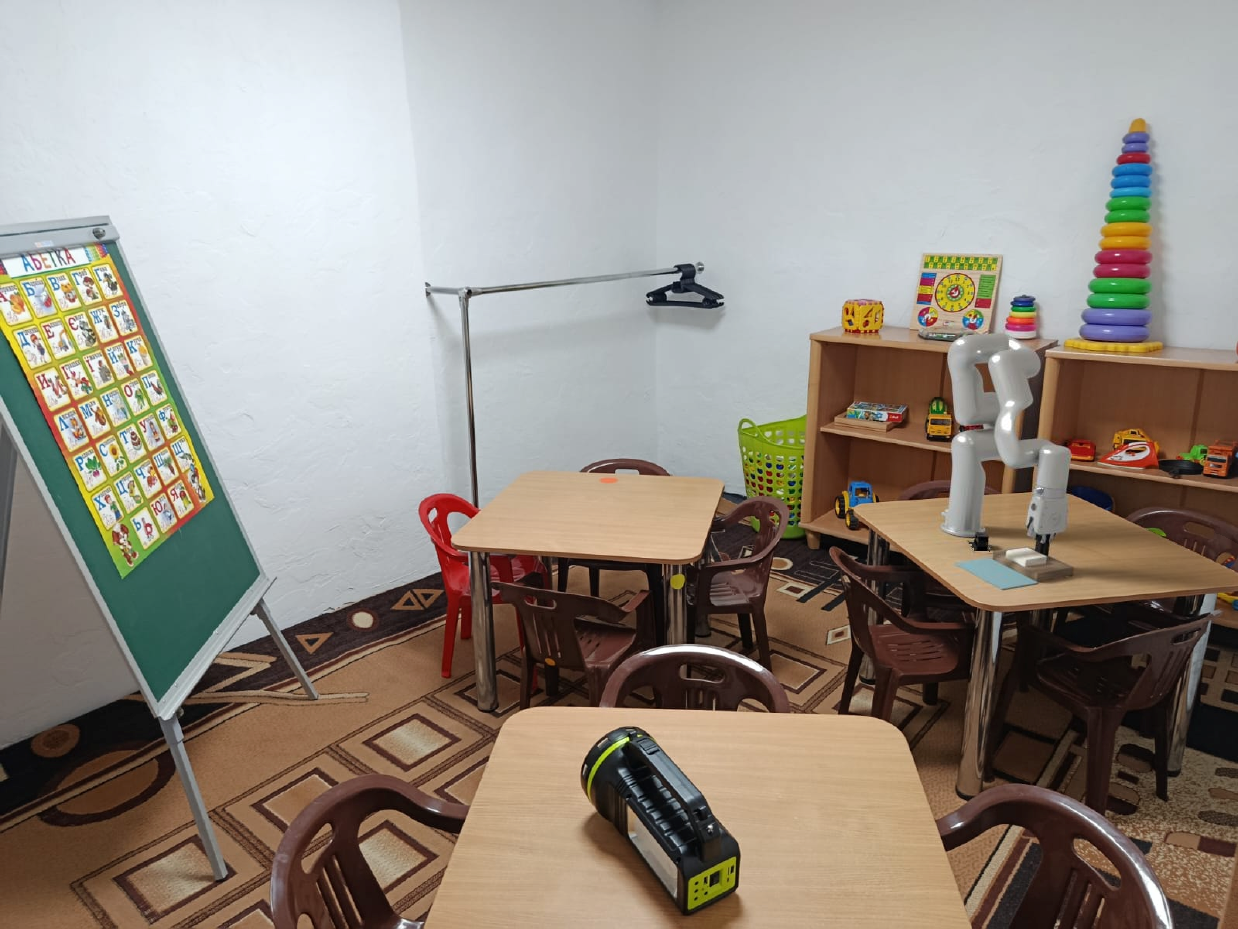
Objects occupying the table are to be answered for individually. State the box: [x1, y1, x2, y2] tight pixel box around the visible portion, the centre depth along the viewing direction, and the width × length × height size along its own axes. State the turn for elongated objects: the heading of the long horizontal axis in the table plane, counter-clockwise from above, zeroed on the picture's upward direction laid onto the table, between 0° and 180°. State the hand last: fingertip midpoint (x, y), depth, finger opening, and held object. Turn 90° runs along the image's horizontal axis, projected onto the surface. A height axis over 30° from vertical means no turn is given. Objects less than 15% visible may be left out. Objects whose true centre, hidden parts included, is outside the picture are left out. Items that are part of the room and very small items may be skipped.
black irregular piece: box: [968, 531, 993, 552], centre depth 242 cm, size 12×7×5 cm, turn 170°
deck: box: [992, 545, 1074, 583], centre depth 227 cm, size 16×12×2 cm
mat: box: [954, 557, 1039, 591], centre depth 224 cm, size 18×12×1 cm, turn 18°
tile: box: [1006, 547, 1047, 567], centre depth 226 cm, size 7×7×2 cm
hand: (1041, 554), depth 227 cm, fingers closed
